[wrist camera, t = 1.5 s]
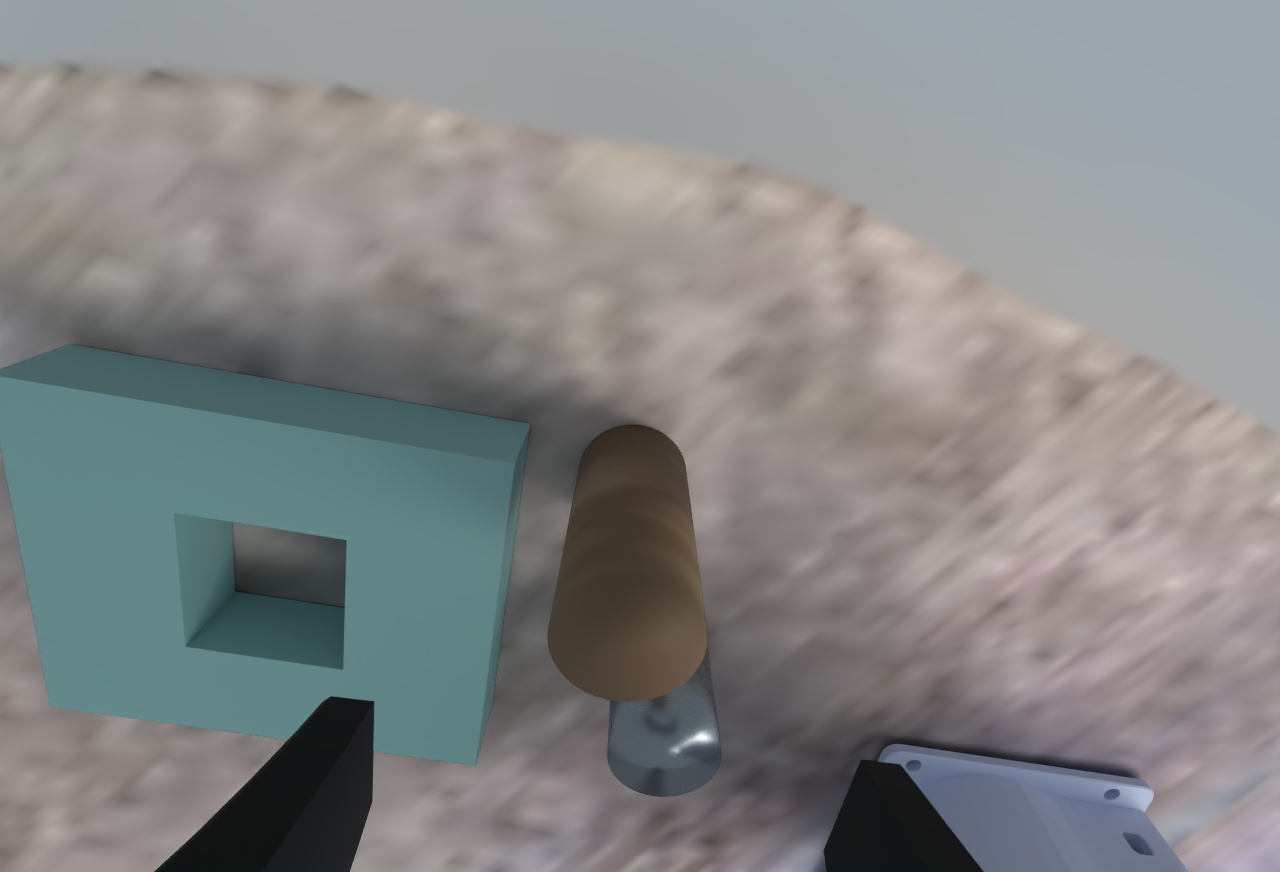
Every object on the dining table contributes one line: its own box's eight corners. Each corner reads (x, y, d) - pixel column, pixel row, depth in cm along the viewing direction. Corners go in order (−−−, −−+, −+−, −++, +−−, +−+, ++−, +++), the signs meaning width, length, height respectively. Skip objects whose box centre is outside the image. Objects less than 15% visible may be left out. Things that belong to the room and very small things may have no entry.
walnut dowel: (696, 435, 19) (724, 586, 13) (674, 528, 20) (689, 711, 14) (587, 416, 19) (559, 560, 12) (571, 511, 20) (538, 689, 14)
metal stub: (717, 621, 22) (733, 721, 18) (696, 695, 23) (707, 803, 19) (622, 606, 21) (618, 704, 18) (605, 682, 22) (598, 788, 19)
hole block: (530, 424, 19) (514, 463, 17) (492, 702, 23) (475, 765, 20) (70, 343, 18) (-13, 374, 16) (111, 647, 22) (49, 707, 20)
